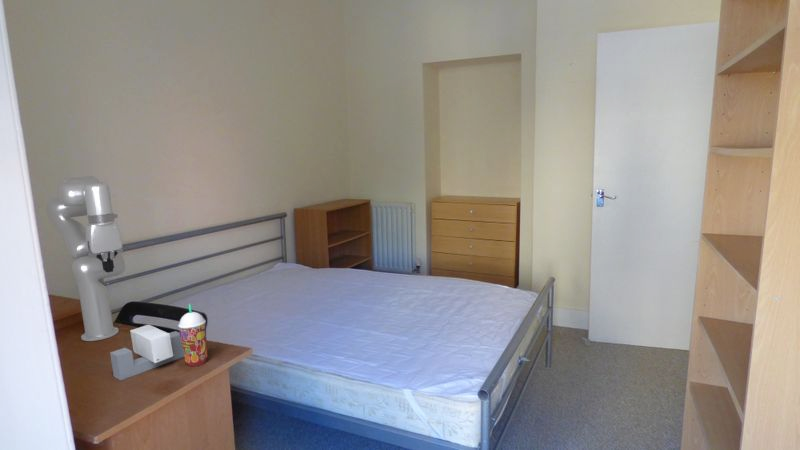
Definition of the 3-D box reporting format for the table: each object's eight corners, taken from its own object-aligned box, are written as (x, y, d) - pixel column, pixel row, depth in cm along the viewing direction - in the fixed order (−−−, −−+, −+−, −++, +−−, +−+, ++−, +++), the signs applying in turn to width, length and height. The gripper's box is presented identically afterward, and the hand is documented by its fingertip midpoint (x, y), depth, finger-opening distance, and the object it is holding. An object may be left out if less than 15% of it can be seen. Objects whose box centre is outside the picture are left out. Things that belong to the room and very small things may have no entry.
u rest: (113, 376, 159) (110, 352, 158) (178, 353, 175) (175, 331, 174) (120, 380, 156) (116, 356, 155) (185, 356, 172) (182, 333, 171)
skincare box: (151, 346, 174) (174, 357, 165) (132, 353, 169) (154, 365, 160) (148, 323, 173) (171, 333, 163) (128, 329, 168) (150, 340, 158)
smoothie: (177, 365, 165) (169, 306, 161) (198, 355, 172) (191, 299, 169) (195, 370, 161) (187, 309, 157) (215, 359, 168) (208, 301, 165)
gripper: (119, 215, 180) (126, 265, 183) (72, 222, 169) (81, 275, 172) (128, 216, 176) (136, 268, 179) (80, 223, 164) (89, 278, 167)
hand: (109, 271), depth 175 cm, fingers closed
